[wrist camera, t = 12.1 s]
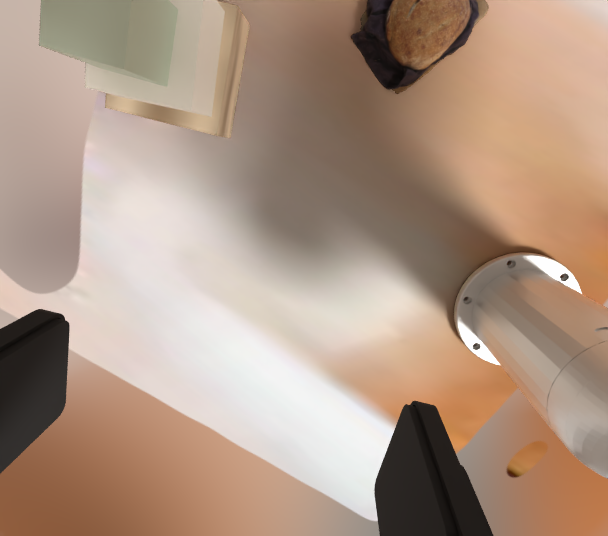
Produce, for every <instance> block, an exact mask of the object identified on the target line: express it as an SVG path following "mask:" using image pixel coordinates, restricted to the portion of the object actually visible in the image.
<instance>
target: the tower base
mask: <svg viewBox="0 0 608 536" xmlns="http://www.w3.org/2000/svg"><path fill="white" fill-rule="evenodd" d="M218 3H219V4H220V6H221V7H222V8H223V10H224V11H225V14H224V22H223V30H222V38H221V46H220V54H219V62H218V70H217V78H216V86H215V94H214V102H213V110H212V117H209V116H205V115H200V114H196V113H191V112H187V111H182V110H177V109H173V108H168V107H164V106H159V105H155V104H150V103H145V102H141V101H136V100H132V99H127V98H123V97H119V96H115V95H111V94H107V93H106V100H105V108H109V109H113V110H117V111H121V112H125V113H129V114H133V115H137V116H140V117H144V118H148V119H152V120H156V121H160V122H164V123H168V124H172V125H176V126H180V127H184V128H188V129H192V130H196V131H200V132H204V133H207V134H211V135H215V136H221V137H227V138H230V137H231V131H232V126H233V120H234V114H235V108H236V102H237V97H238V91H239V85H240V79H241V73H242V68H243V62H244V56H245V50H246V44H247V39H248V33H249V27H250V25H249V23H248V21H247V20H246V18H245V17H244V15H243V13H242V12H241V10H240V9H239V7H238V6H236V5H232V4H228V3H224V2H221V1H218Z"/></svg>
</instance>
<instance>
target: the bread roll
mask: <svg viewBox="0 0 608 536" xmlns="http://www.w3.org/2000/svg"><path fill="white" fill-rule="evenodd" d="M488 8H489V7H488V4H487V2H486V1H485V0H368V2H367V10H366V11H365V13H364V14H363V15H362V18H361V21H362V22H361V25H362V27H361V32H359V33H356V34H353V35H352V36H351V38H352V39H353V42H354V44H355V45H356V46H357V48H358V49H359V50H360V51H361V53H362V55H363V56H364V58H365V60H366V62H367V63H368V65H369V67H370V68H371V70H372V71H373V73H374V75H375V76H376V78H377V79H378V80H379V82H380V83H381V84H382V85H383V86H384V87H386V88H387V89H392V90H393V91H395V93H397V94H398V93H399V92H402V91H404V90H406V89H407V88H408V87H410V86H411V85H413V84H414V83H415V82H416V81H417V80H419V79H420V78H421V77H423V76H424V75H425V74H427V73H428V72H429V71H430V70H431V69H432V68H433V67H434V66H435V65H437V63H439V62H440V60H442V59H444V58H445V57H446V56H447V55H449V54H450V55H451V54H452V53H454V52H455V51H456V50H457V49H458V48H459V47H461V46H463V45H464V44H465V43H466V41H467V40H468V37H469V35H470V34H471V32H472V29H473V27H474V26H475V25H476V24H477V23H478V21H479V20H480V19H481V18H483V17H484V16H485V15H486V13H487V11H488Z"/></svg>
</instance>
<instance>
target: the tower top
mask: <svg viewBox="0 0 608 536" xmlns="http://www.w3.org/2000/svg"><path fill="white" fill-rule="evenodd" d="M169 1H170V2H171V3H172V4H173V5H174V6H175V7H176V8H177V9H178V15H177V22H176V29H175V36H174V43H173V50H172V57H171V64H170V71H169V78H168V85H167V87H165V86H162V85H158V84H155V83H151V82H148V81H144V80H141V79H137V78H133V77H130V76H126V75H123V74H119V73H116V72H112V71H109V70H105V69H102V68H98V67H96V66H93V65H90V64H88V63H86V66H85V88H89V89H93V90H96V91H100V92H104V93H107V94H111V95H115V96H119V97H123V98H127V99H132V100H136V101H141V102H145V103H150V104H155V105H159V106H164V107H168V108H173V109H177V110H182V111H187V112H191V113H196V114H200V115H205V116H209V117H212V110H213V102H214V94H215V86H216V78H217V70H218V62H219V54H220V46H221V38H222V30H223V22H224V14H225V11H224V10H223V8H222V7H221V6H220V4H219V3H218V1H217V0H169Z"/></svg>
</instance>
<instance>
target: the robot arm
mask: <svg viewBox="0 0 608 536" xmlns="http://www.w3.org/2000/svg"><path fill="white" fill-rule="evenodd" d="M508 261H509V263H508V264H507V262H508ZM465 297H467V298H466V299H464V298H465ZM454 321H455V326H456V329H457V332H458V334H459V336H460V338H461V339H462V341H463V342H464V344H465V345H466V346H467V347H468V349H469V350H470V351H471V352H472V353H474V354H475V355H477V356H478V357H479V358H481V359H483V360H485V361H488V362H490V363H494V364H498V365H501V367H502V368H503V369H504V370H505V372H506V373H507V374H508V375H509V377H510V378H511V379H512V380H513V382H514V383H515V384H516V385H517V387H518V388H519V389H520V390H521V392H522V393H523V394H524V395H525V397H526V398H527V399H528V400H529V401H530V403H531V404H532V405H533V407H534V408H535V409H536V410H537V412H538V413H539V414H540V415H541V416H542V418H543V419H544V420H545V422H546V423H547V424H548V425H549V427H550V428H551V429H552V430H553V432H554V433H555V434H556V435H557V436H558V437H559V439H560V440H561V441H562V442H563V444H564V445H565V446H566V447H567V448H568V450H569V451H570V452H571V453H572V454H573V455H574V456H575V457H576V458H577V459H578V460H580V461H581V462H582V463H583V464H584V465H586V466H587V467H589V468H590V469H592V470H593V471H595V472H597V473H598V474H600V475H602V476H604V477H606V478H608V308H606V307H605V306H603V305H601V304H599V303H598V302H596V301H594V300H592V299H590V298H589V297H587V296H585V295H583V294H582V292H581V289H580V286H579V283H578V281H577V280H576V278H575V277H574V275H573V274H572V273H571V272H570V271H569V270H568V269H567V268H566V267H565V266H564V265H562V264H560V263H559V262H557V261H556V260H553V259H551V258H549V257H547V256H544V255H540V254H536V253H525V252H520V253H511V254H507V255H503V256H500V257H497V258H495V259H493V260H491V261H489V262H487V263H485V264H484V265H482V266H481V267H479V268H478V269H477V270H475V271H474V272H473V273H472V274H471V275H470V276H469V278H468V279H467V280H466V281H465V283H464V284H463V286H462V287H461V289H460V291H459V294H458V296H457V298H456V302H455V307H454ZM474 343H475V344H474ZM68 346H69V323H68V322H67V321H65V318H64V316H63V315H62V314H59V313H55V312H51V311H47V310H43V309H38V310H35V311H33V312H32V313H30V314H28V315H26V316H24V317H22V318H20V319H18V320H17V321H15V322H13V323H11V324H9V325H7V326H5V327H3V328H1V329H0V473H1V472H2V471H3V470H4V469H5V468H6V467H7V466H9V465H10V464H11V463H12V462H13V461H14V460H15V459H16V458H17V457H18V456H19V455H20V454H21V453H22V452H23V451H24V450H25V449H26V448H27V447H28V446H29V445H30V444H31V443H32V442H33V441H34V440H35V439H36V438H37V437H39V435H41V434H42V433H43V432H44V431H45V430H46V429H47V428H48V427H49V426H50V425H51V424H52V423H53V422H54V421H55V420H56V419H57V418H58V417H59V416H60V415H61V413H62V411H63V409H64V407H65V403H66V385H67V366H68ZM375 501H376V509H377V516H378V524H379V531H380V536H493V534H492V531H491V529H490V526H489V524H488V522H487V519H486V517H485V515H484V512H483V510H482V508H481V505H480V503H479V501H478V498H477V496H476V494H475V491H474V489H473V487H472V484H471V482H470V480H469V477H468V475H467V473H466V471H465V469H464V467H463V466H461V465H460V463H459V461H458V458H457V456H456V453H455V451H454V449H453V446H452V444H451V441H450V439H449V437H448V434H447V432H446V429H445V427H444V424H443V422H442V420H441V417H440V415H439V412H438V410H437V408H436V406H434V405H430V404H426V403H422V402H418V401H413V402H412V403H411V405H407V404H406V405H405V406H404V407H403V409H402V412H401V414H400V417H399V420H398V422H397V425H396V428H395V430H394V433H393V436H392V438H391V441H390V444H389V446H388V449H387V452H386V454H385V457H384V460H383V462H382V465H381V468H380V470H379V473H378V476H377V478H376V482H375Z"/></svg>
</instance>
